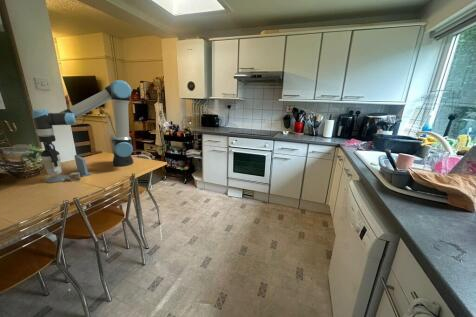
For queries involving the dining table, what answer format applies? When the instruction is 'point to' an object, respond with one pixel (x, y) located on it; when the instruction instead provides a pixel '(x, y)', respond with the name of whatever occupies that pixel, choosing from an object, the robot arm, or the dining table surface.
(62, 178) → the coaster
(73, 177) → the letter block
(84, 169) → the screen
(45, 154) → the coffee cup
